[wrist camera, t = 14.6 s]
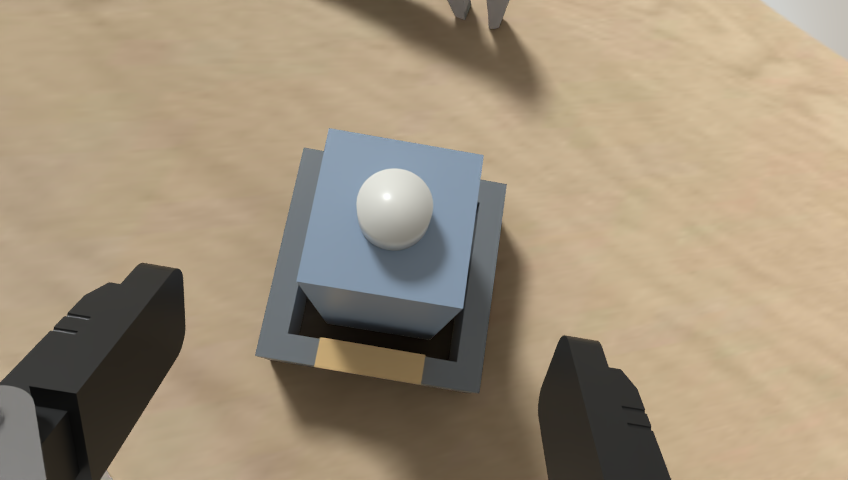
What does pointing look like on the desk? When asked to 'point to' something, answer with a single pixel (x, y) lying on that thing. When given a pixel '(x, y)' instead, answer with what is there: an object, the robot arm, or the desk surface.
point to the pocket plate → (373, 361)
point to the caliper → (495, 6)
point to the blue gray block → (390, 234)
